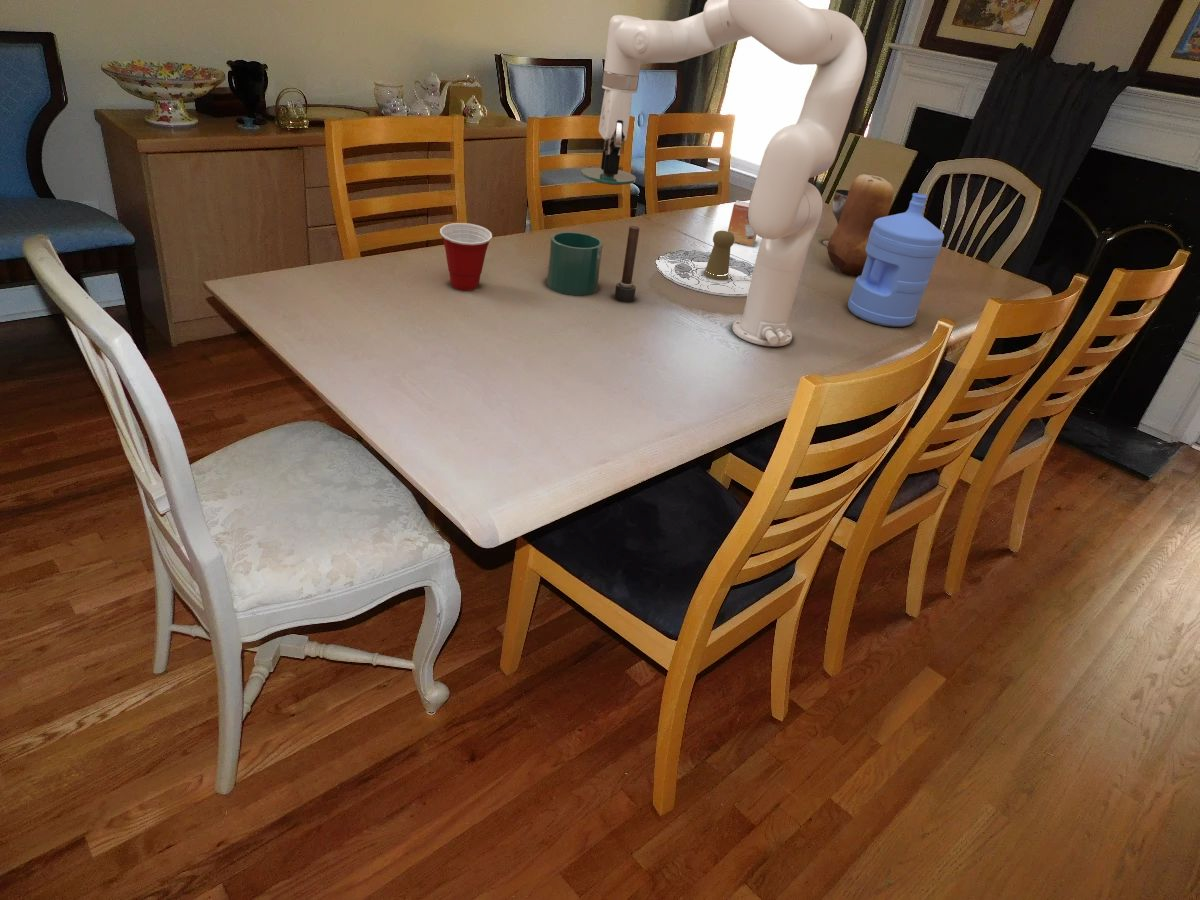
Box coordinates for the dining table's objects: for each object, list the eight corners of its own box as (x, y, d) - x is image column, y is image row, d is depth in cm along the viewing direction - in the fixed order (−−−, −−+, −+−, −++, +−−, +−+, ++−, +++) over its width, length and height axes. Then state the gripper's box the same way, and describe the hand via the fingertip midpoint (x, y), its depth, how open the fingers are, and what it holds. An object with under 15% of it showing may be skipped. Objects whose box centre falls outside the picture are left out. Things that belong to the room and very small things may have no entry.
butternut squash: (881, 276, 207) (913, 182, 194) (854, 283, 199) (885, 185, 186) (838, 260, 215) (866, 168, 202) (811, 266, 207) (837, 171, 194)
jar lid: (640, 189, 169) (644, 160, 166) (584, 184, 167) (588, 154, 163) (629, 175, 179) (633, 147, 176) (577, 170, 177) (580, 142, 173)
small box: (725, 241, 218) (733, 203, 212) (728, 236, 222) (736, 199, 217) (752, 246, 216) (761, 209, 210) (755, 241, 221) (764, 205, 215)
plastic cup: (445, 296, 159) (445, 239, 153) (434, 277, 168) (434, 222, 161) (495, 294, 163) (498, 239, 157) (483, 276, 172) (485, 222, 165)
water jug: (899, 305, 189) (939, 190, 174) (923, 331, 176) (970, 209, 161) (838, 299, 187) (873, 182, 173) (858, 324, 174) (899, 200, 159)
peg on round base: (635, 302, 169) (646, 231, 161) (616, 301, 168) (626, 229, 160) (632, 295, 173) (642, 225, 164) (612, 294, 172) (622, 223, 163)
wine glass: (815, 240, 230) (829, 189, 222) (836, 239, 233) (850, 189, 225) (832, 249, 224) (847, 197, 216) (853, 248, 227) (869, 197, 219)
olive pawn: (727, 273, 194) (736, 230, 188) (728, 281, 189) (738, 237, 183) (703, 269, 194) (712, 226, 188) (704, 277, 189) (713, 233, 183)
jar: (600, 296, 170) (606, 250, 164) (549, 293, 168) (553, 246, 162) (593, 278, 179) (598, 233, 174) (544, 275, 177) (548, 230, 171)
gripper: (597, 74, 168) (587, 161, 178) (609, 86, 155) (598, 179, 165) (630, 78, 169) (619, 164, 179) (645, 90, 156) (632, 182, 166)
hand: (609, 171), depth 172 cm, fingers closed on jar lid, 2 cm apart
